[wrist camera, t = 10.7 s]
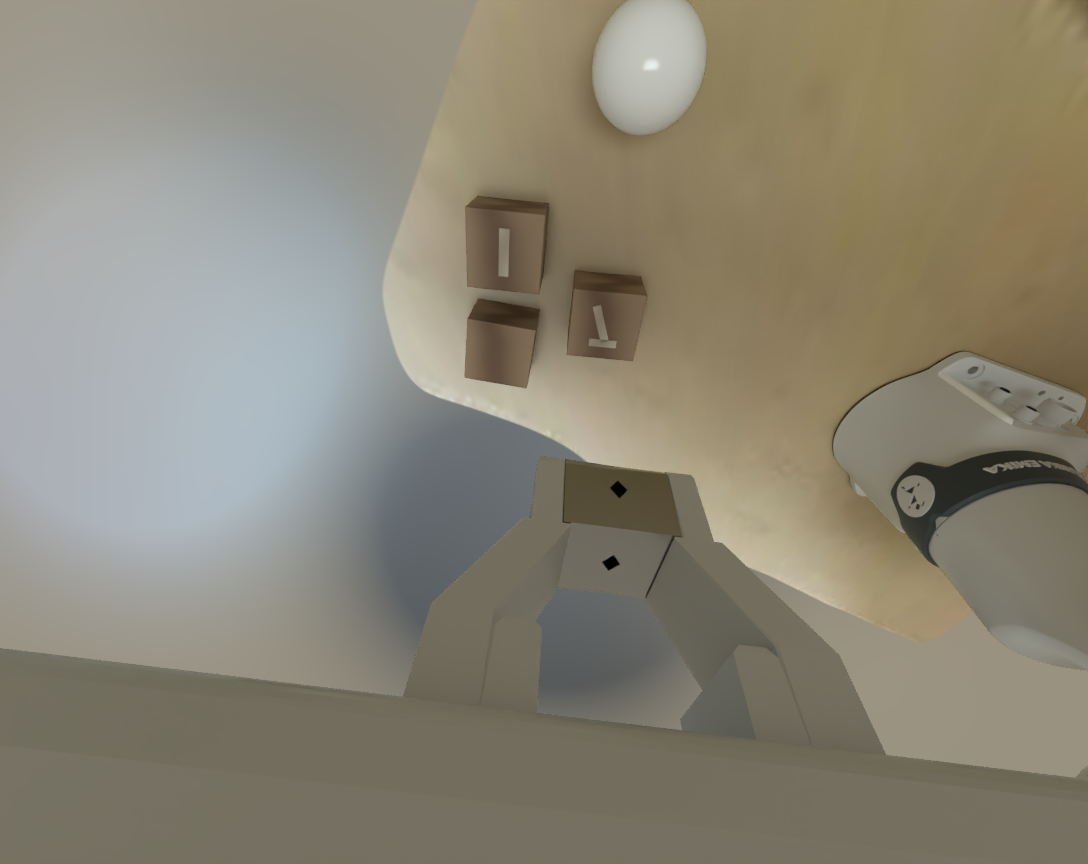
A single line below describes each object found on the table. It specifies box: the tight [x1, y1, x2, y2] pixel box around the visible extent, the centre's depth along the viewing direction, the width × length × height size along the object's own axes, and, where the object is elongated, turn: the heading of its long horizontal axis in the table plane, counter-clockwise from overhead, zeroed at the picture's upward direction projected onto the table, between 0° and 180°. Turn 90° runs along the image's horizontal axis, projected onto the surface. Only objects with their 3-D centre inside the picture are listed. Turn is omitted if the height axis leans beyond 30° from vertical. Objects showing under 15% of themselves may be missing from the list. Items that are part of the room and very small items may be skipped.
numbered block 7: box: [567, 271, 647, 361], centre depth 39 cm, size 6×6×5 cm
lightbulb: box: [592, 0, 707, 136], centre depth 27 cm, size 6×6×11 cm
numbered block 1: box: [465, 196, 549, 294], centre depth 36 cm, size 6×6×5 cm
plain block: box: [465, 299, 540, 388], centre depth 42 cm, size 6×6×5 cm
